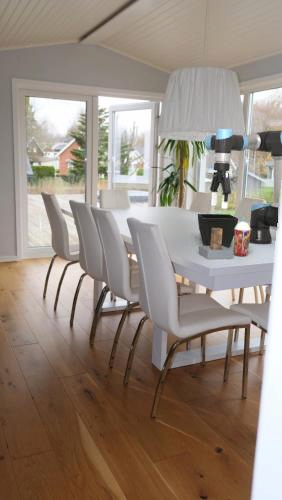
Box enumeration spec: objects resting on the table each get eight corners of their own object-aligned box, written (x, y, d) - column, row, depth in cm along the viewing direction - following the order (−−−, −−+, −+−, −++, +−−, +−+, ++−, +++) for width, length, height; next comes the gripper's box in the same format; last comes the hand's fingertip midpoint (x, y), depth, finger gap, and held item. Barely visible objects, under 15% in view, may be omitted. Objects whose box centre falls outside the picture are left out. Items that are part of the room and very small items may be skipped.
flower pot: (202, 248, 241) (204, 217, 238) (195, 242, 259) (197, 213, 256) (236, 249, 243) (239, 218, 239) (227, 242, 261) (229, 214, 258)
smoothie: (251, 257, 223) (254, 217, 219) (234, 256, 222) (238, 217, 219) (245, 253, 231) (249, 215, 227) (230, 253, 231) (233, 215, 227)
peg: (217, 255, 225) (219, 227, 222) (220, 257, 221) (222, 229, 218) (209, 255, 224) (211, 227, 221) (212, 257, 220) (214, 229, 217)
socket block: (222, 253, 230) (222, 245, 229) (232, 259, 217) (233, 251, 217) (198, 253, 227) (198, 245, 226) (207, 259, 215) (208, 251, 214)
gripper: (205, 161, 224) (202, 204, 229) (225, 162, 200) (221, 209, 205) (219, 162, 226) (216, 204, 230) (240, 163, 202) (236, 209, 206)
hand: (218, 206), depth 217 cm, fingers open, 13 cm apart
